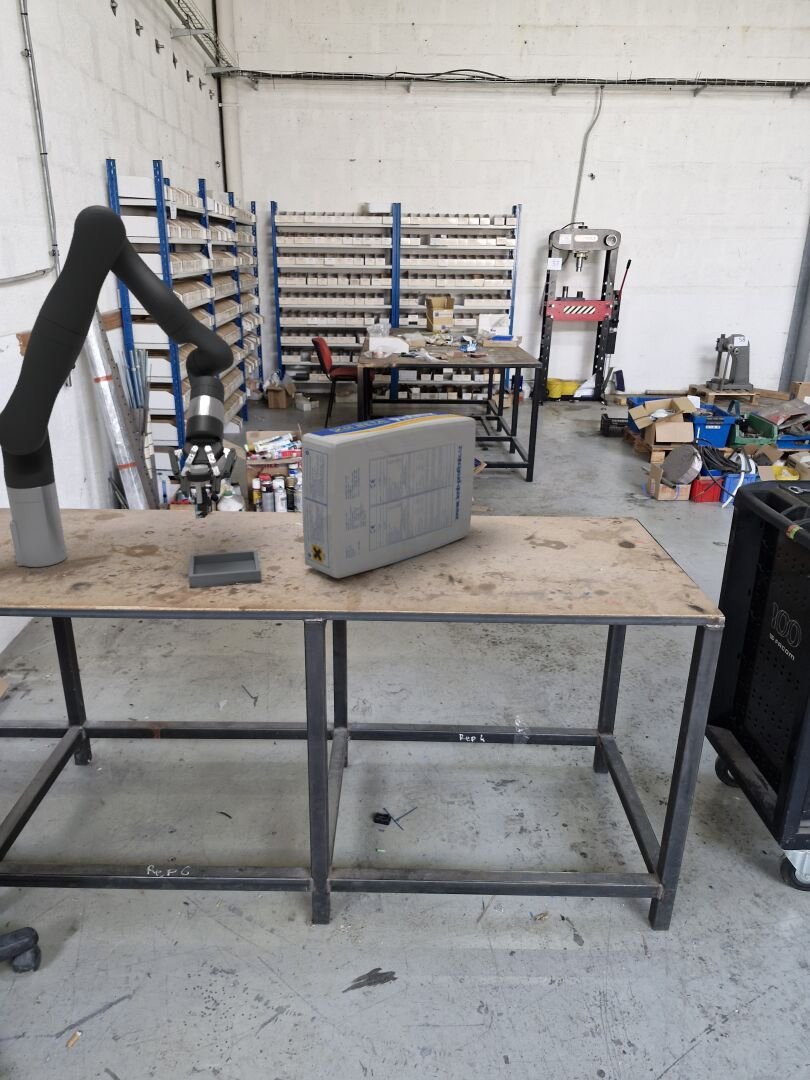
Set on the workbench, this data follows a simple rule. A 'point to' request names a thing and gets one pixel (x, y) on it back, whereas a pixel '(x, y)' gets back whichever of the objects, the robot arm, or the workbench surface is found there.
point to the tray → (224, 568)
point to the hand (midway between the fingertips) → (200, 495)
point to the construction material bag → (385, 490)
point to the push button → (200, 489)
